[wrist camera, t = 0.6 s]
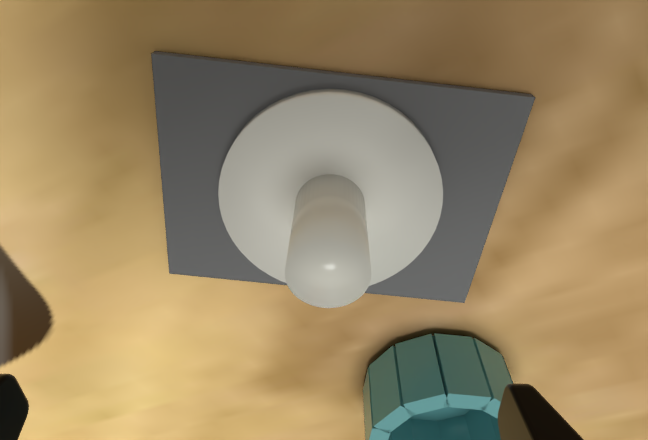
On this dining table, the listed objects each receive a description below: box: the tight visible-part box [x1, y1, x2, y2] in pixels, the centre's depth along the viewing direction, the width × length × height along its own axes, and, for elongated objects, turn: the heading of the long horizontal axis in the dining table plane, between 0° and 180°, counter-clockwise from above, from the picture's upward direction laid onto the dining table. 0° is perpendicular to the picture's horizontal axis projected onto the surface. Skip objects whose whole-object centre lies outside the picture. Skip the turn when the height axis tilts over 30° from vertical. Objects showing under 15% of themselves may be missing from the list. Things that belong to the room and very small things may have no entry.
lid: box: [218, 89, 443, 308], centre depth 18 cm, size 9×9×5 cm
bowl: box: [363, 333, 513, 440], centre depth 25 cm, size 8×8×4 cm
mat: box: [151, 51, 535, 303], centre depth 20 cm, size 14×10×1 cm
